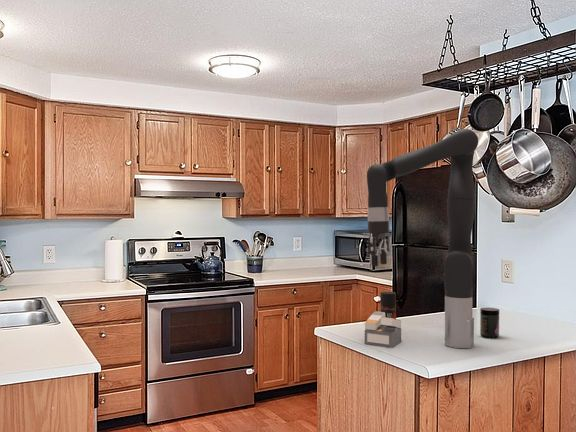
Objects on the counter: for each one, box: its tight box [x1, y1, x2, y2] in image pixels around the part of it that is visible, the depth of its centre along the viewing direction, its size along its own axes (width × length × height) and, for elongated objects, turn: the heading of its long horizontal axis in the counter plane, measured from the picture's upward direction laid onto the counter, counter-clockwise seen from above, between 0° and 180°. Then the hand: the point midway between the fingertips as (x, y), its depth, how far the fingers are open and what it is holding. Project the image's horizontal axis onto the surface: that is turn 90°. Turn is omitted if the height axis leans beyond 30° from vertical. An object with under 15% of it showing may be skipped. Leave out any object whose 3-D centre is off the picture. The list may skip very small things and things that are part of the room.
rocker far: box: [364, 310, 385, 330], centre depth 193 cm, size 4×10×3 cm, turn 149°
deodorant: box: [380, 291, 397, 327], centre depth 210 cm, size 6×6×15 cm
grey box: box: [364, 325, 402, 349], centre depth 191 cm, size 10×10×6 cm
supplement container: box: [479, 307, 500, 340], centre depth 200 cm, size 7×7×10 cm
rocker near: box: [381, 317, 402, 328], centre depth 190 cm, size 4×10×3 cm, turn 149°
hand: (379, 265), depth 193 cm, fingers open, 8 cm apart
